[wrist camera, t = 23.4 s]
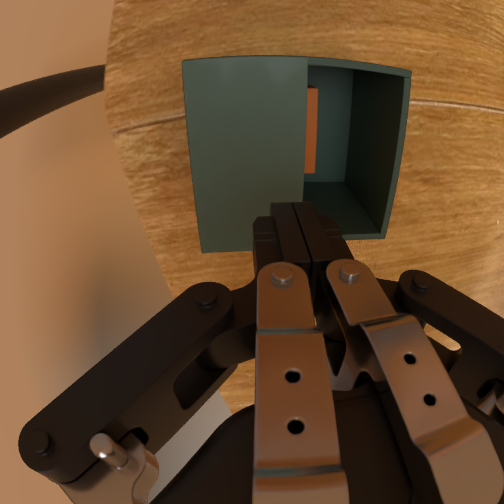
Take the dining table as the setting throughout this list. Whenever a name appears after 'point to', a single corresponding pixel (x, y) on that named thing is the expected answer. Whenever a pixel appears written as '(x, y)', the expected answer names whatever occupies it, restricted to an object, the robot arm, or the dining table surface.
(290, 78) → the flap
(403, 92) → the dark green box
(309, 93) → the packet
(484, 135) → the dining table surface
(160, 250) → the dining table surface
